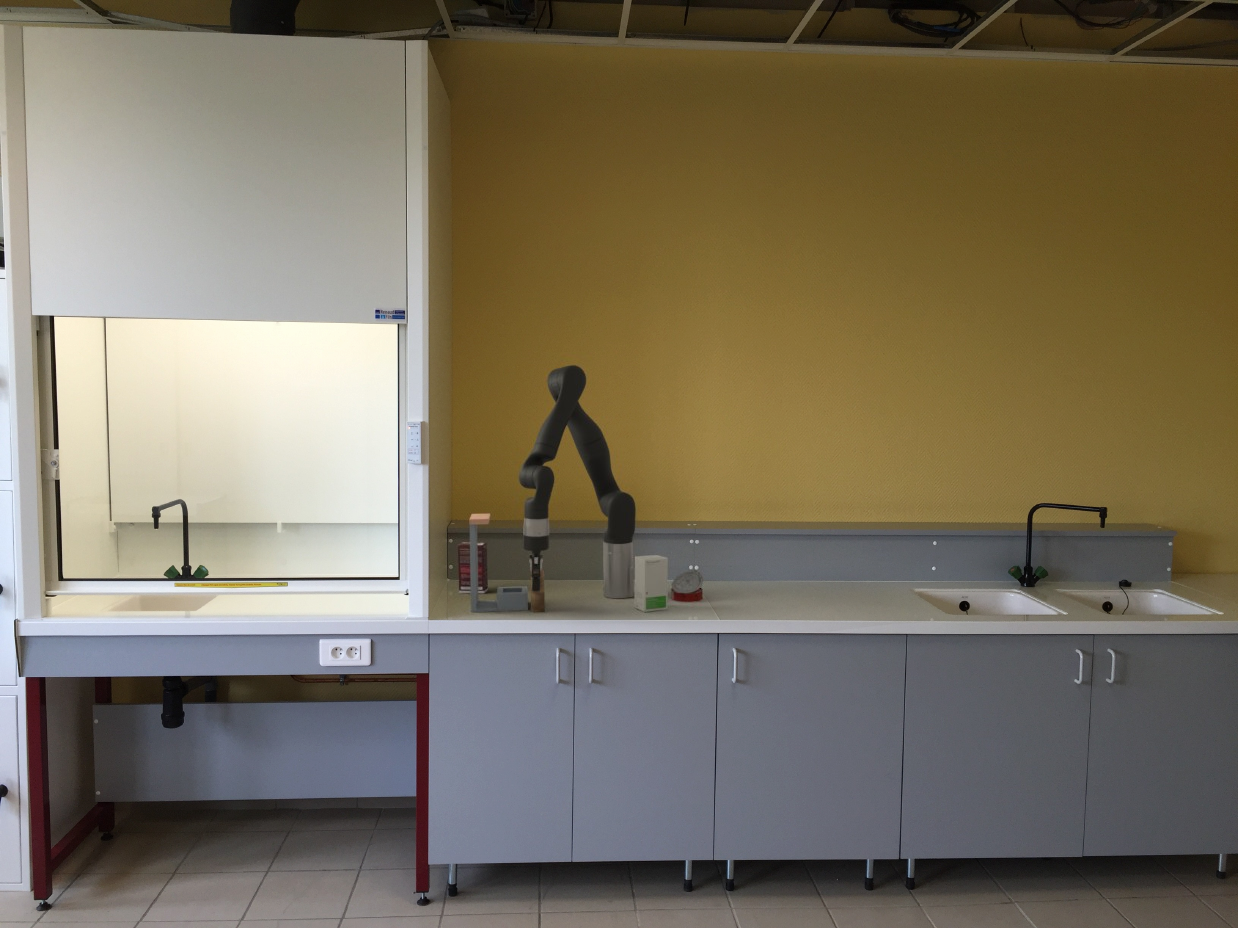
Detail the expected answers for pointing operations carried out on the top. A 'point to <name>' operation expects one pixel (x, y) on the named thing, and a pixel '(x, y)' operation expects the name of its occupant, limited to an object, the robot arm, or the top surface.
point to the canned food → (687, 587)
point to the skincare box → (651, 583)
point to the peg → (538, 596)
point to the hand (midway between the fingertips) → (536, 587)
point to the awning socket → (505, 595)
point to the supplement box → (465, 567)
